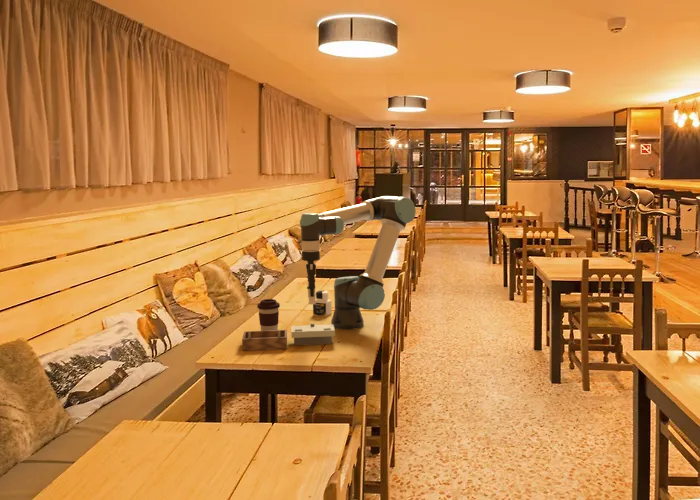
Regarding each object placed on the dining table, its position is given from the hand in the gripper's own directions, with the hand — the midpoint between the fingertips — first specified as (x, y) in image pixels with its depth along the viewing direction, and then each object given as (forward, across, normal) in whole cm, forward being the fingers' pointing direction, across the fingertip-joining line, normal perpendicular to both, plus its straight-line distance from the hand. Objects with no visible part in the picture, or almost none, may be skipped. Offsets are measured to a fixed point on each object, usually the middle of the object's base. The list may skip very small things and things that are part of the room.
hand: (311, 300), depth 269 cm
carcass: (+18, +2, -20) cm, 27 cm away
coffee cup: (+18, -19, -19) cm, 33 cm away
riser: (+18, 0, 0) cm, 18 cm away
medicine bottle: (+18, -51, +7) cm, 54 cm away
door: (+14, 0, 0) cm, 14 cm away
